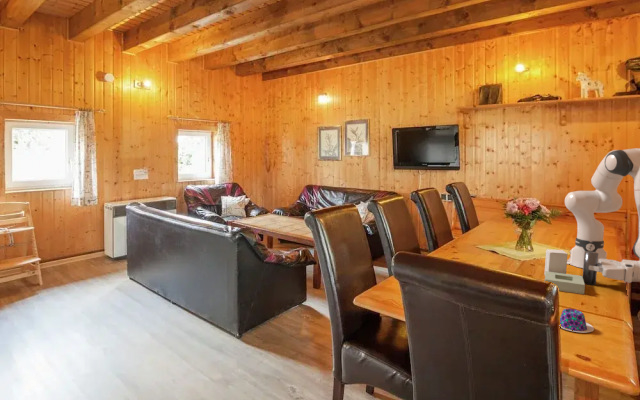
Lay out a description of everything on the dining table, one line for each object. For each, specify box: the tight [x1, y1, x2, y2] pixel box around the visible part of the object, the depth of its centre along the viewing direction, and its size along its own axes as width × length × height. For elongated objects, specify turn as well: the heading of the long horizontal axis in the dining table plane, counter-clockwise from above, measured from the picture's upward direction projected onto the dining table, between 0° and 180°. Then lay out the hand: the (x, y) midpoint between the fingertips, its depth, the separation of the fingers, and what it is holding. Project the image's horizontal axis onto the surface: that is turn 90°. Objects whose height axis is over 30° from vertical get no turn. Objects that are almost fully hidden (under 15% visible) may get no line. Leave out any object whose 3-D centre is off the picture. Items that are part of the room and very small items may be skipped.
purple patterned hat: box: [559, 308, 595, 334], centre depth 130 cm, size 12×12×5 cm
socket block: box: [544, 270, 586, 295], centre depth 169 cm, size 14×14×4 cm
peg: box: [582, 251, 598, 286], centre depth 173 cm, size 5×5×14 cm
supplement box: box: [543, 248, 568, 276], centre depth 181 cm, size 7×7×13 cm
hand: (587, 265), depth 173 cm, fingers closed on peg, 5 cm apart
